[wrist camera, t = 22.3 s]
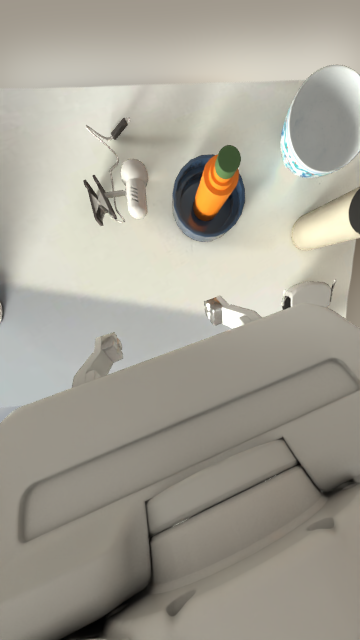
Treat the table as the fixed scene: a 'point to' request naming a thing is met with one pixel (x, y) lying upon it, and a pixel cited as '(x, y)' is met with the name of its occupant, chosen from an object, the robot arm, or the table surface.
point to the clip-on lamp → (132, 178)
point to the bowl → (185, 198)
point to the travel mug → (329, 223)
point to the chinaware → (323, 123)
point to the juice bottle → (217, 183)
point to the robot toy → (308, 294)
